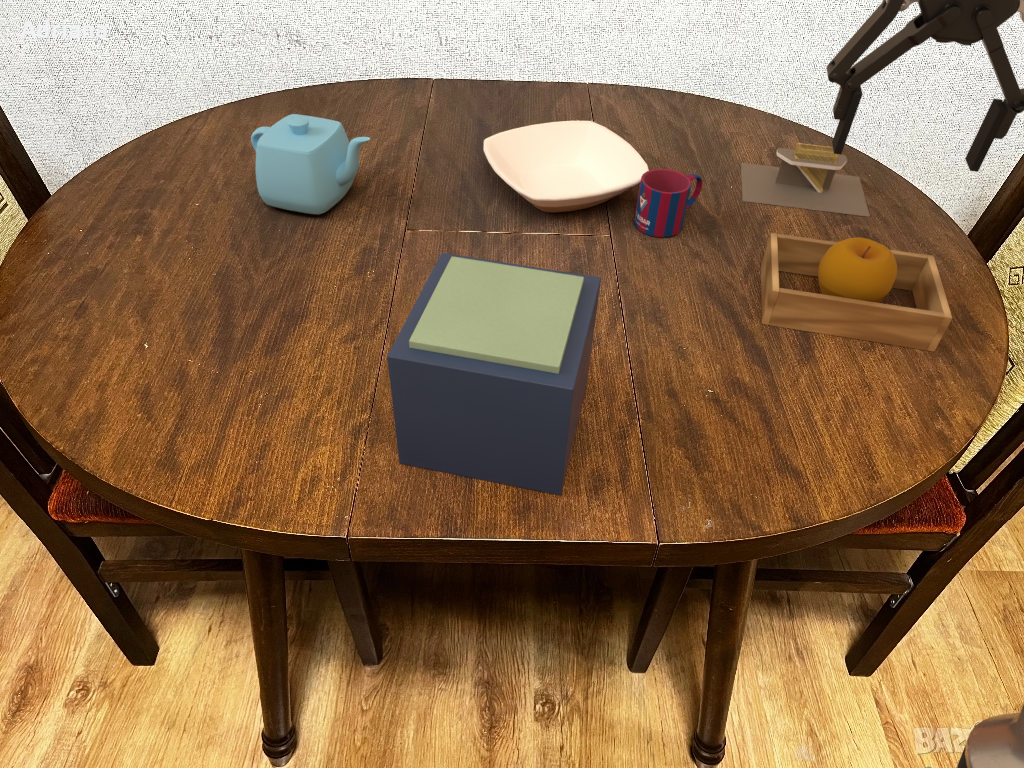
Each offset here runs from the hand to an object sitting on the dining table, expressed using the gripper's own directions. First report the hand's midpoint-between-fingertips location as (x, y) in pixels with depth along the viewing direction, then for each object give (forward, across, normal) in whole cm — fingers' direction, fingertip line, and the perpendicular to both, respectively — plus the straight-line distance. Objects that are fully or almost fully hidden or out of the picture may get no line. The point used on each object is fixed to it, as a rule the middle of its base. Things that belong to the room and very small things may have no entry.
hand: (903, 157), depth 81 cm
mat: (+6, +36, +30) cm, 47 cm away
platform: (+20, +4, -28) cm, 35 cm away
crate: (+20, +36, +30) cm, 51 cm away
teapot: (+20, +72, -6) cm, 75 cm away
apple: (+20, 0, 0) cm, 20 cm away
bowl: (+20, +38, -18) cm, 47 cm away
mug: (+20, +22, -13) cm, 33 cm away
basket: (+20, 0, 0) cm, 20 cm away
